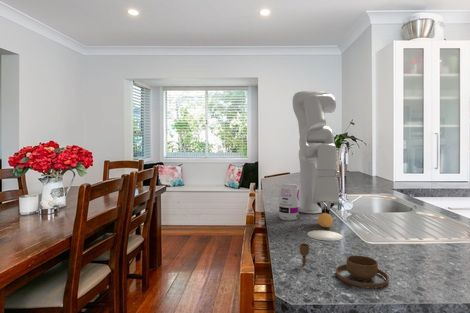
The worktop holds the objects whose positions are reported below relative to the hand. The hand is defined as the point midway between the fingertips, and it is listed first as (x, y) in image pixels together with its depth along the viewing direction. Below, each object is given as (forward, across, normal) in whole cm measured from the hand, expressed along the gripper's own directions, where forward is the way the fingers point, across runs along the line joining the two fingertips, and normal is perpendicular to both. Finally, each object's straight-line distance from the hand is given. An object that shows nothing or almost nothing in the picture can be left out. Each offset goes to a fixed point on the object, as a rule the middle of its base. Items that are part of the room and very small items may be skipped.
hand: (325, 218), depth 130 cm
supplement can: (+2, +15, -3) cm, 16 cm away
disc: (+2, 0, +19) cm, 19 cm away
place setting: (+3, -5, +50) cm, 51 cm away
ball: (-1, 0, +7) cm, 7 cm away
